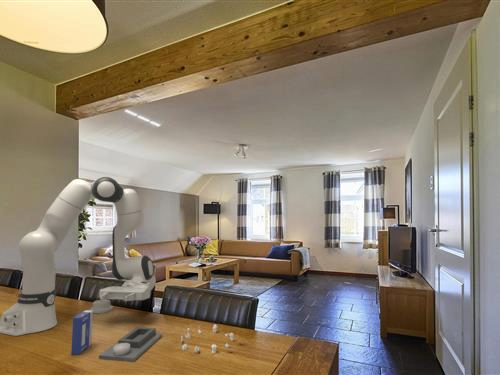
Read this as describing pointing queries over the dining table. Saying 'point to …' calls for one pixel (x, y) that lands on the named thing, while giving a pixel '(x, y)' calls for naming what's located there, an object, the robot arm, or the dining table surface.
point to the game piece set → (211, 346)
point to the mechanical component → (101, 306)
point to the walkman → (82, 332)
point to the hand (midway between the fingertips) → (113, 298)
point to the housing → (132, 345)
